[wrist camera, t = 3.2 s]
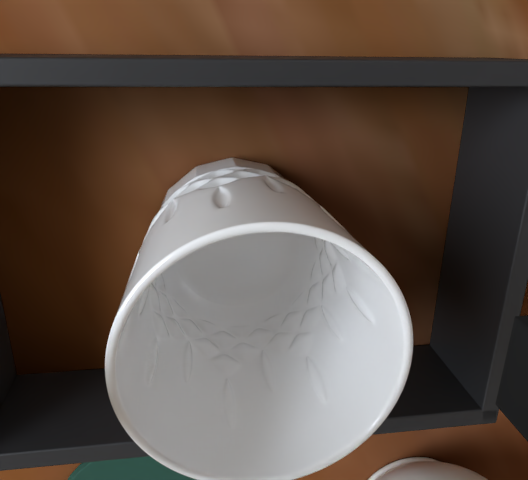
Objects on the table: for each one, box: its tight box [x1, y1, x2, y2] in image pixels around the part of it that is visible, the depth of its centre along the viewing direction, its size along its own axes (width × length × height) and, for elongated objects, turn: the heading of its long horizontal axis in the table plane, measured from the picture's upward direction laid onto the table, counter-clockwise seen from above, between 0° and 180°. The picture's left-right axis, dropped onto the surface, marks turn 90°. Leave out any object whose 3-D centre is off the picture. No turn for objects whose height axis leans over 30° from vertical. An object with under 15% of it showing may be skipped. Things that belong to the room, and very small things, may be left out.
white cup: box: [105, 157, 413, 480], centre depth 17 cm, size 8×8×10 cm
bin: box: [0, 54, 528, 471], centre depth 20 cm, size 22×15×5 cm
